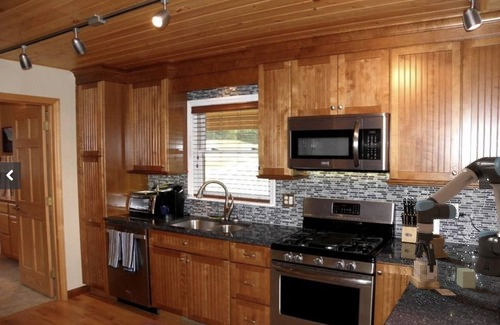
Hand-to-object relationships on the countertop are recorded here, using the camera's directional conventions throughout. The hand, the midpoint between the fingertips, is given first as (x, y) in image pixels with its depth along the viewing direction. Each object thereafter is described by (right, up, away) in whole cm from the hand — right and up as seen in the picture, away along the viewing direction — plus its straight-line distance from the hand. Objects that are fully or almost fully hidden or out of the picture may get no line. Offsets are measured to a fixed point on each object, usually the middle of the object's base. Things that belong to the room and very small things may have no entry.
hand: (424, 274), depth 190 cm
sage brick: (+20, -5, -1) cm, 21 cm away
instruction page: (+5, -5, -10) cm, 13 cm away
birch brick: (0, -2, 0) cm, 2 cm away
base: (0, -5, 0) cm, 5 cm away
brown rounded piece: (+32, -5, +54) cm, 63 cm away
